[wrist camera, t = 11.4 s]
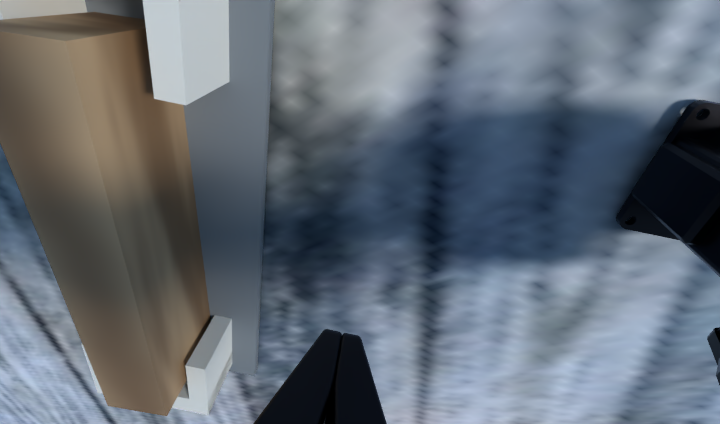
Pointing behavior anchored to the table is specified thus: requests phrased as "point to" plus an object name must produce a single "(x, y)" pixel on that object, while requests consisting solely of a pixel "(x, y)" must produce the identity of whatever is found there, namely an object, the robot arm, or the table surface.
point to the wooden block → (108, 196)
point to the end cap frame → (210, 156)
